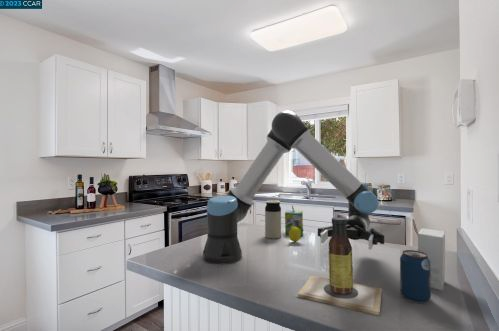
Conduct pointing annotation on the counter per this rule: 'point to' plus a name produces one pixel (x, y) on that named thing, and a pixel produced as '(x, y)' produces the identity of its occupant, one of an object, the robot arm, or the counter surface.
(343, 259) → the sauce bottle
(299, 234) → the lemon
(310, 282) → the wooden picture frame
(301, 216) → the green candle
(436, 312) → the counter surface
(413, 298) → the soda can
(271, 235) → the travel mug
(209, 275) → the counter surface
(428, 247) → the skincare box
